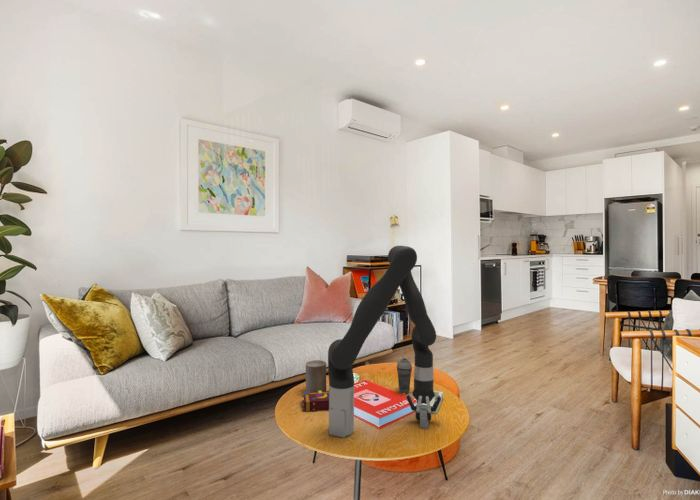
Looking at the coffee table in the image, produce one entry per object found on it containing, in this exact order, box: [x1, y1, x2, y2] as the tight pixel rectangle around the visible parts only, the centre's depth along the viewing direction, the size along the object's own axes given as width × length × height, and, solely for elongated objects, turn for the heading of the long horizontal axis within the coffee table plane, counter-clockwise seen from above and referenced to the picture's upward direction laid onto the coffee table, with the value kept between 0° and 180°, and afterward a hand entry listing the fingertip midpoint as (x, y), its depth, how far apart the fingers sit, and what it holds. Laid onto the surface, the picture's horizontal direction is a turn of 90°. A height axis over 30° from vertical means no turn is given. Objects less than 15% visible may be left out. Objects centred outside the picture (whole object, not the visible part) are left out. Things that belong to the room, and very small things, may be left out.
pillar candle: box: [305, 359, 327, 392], centre depth 181 cm, size 10×10×15 cm
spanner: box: [419, 406, 429, 430], centre depth 152 cm, size 13×4×3 cm, turn 173°
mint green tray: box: [413, 390, 444, 415], centre depth 168 cm, size 17×10×3 cm, turn 158°
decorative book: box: [300, 389, 329, 412], centre depth 167 cm, size 11×16×5 cm
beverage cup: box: [396, 348, 413, 395], centre depth 182 cm, size 7×7×20 cm
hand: (423, 420), depth 152 cm, fingers closed on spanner, 3 cm apart
